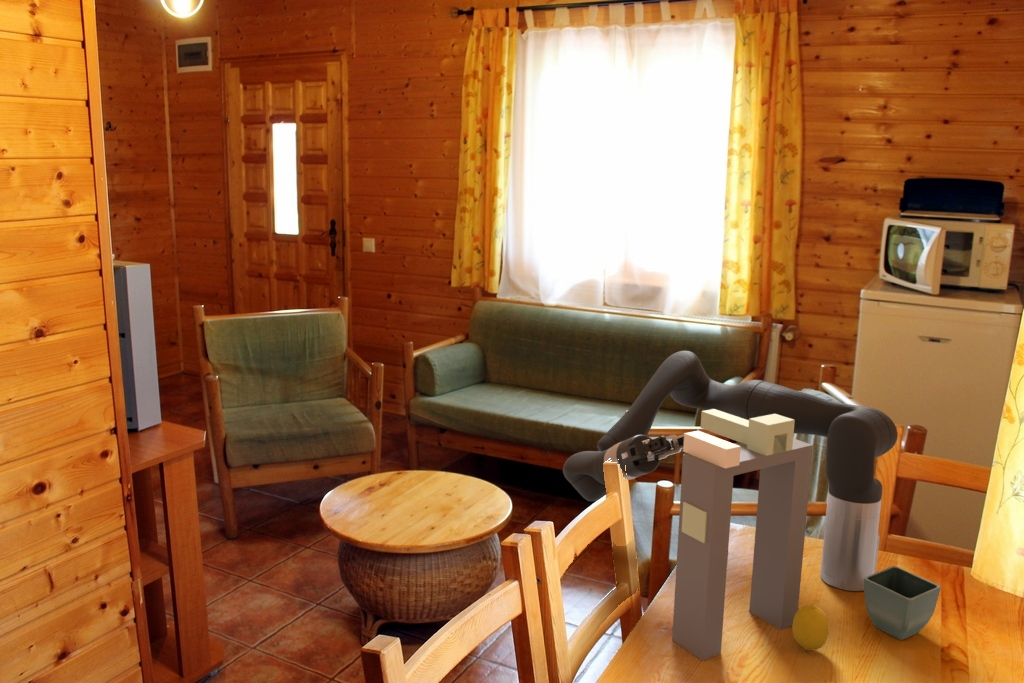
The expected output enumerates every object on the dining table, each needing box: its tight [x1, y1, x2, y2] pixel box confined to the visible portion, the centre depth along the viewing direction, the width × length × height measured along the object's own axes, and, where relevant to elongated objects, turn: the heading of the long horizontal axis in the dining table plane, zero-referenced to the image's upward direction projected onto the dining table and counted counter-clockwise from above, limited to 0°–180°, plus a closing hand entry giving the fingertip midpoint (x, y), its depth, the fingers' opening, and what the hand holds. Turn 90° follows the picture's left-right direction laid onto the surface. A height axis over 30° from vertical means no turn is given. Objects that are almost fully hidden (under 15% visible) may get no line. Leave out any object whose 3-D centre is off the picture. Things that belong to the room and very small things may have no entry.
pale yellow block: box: [700, 409, 795, 456], centre depth 139 cm, size 6×16×5 cm, turn 32°
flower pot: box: [863, 565, 942, 641], centre depth 141 cm, size 9×9×9 cm
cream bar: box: [682, 430, 741, 468], centre depth 130 cm, size 3×9×3 cm, turn 32°
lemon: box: [791, 604, 830, 652], centre depth 135 cm, size 6×6×8 cm
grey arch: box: [671, 437, 814, 662], centre depth 138 cm, size 22×7×32 cm, turn 122°
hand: (683, 437), depth 152 cm, fingers open, 8 cm apart
